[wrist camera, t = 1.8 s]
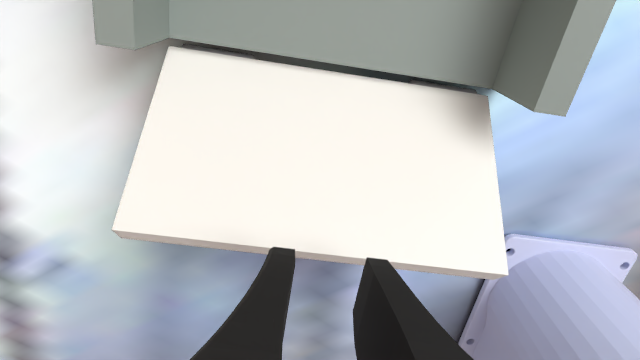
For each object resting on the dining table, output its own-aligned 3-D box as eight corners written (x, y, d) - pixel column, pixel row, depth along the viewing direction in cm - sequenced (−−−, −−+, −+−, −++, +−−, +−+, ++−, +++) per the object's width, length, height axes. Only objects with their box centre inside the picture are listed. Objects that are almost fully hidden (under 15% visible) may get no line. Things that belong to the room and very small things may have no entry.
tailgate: (494, 279, 15) (508, 275, 14) (121, 237, 14) (111, 229, 13) (475, 99, 19) (486, 86, 18) (176, 53, 18) (171, 36, 17)
